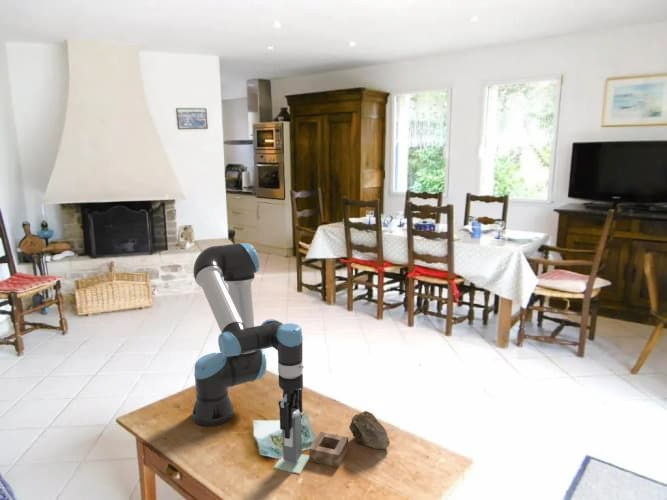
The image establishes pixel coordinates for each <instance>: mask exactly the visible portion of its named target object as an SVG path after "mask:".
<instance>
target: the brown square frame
mask: <svg viewBox="0 0 667 500" xmlns="http://www.w3.org/2000/svg"><path fill="white" fill-rule="evenodd" d="M348 451H349V437H347V436H344V435H343V436H342V435H338V434H333V433H329V432H324V431H320V432H319V433H318V435H317V437H316V438H315V440H314V441H313V442H312V444H311V446H310V447H309V456H310V459H309V462H311V463H316V464H320V465H324V466H325V465H326V466H329V467H335V468H340V466H341V464H342V463H343V461H344V459H345V457H346V455H347V453H348Z"/></svg>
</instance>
